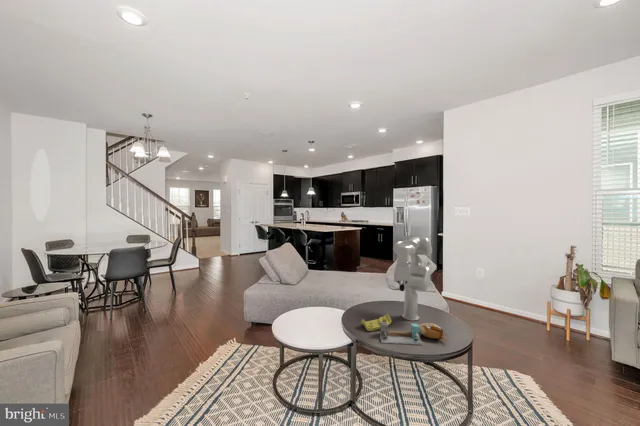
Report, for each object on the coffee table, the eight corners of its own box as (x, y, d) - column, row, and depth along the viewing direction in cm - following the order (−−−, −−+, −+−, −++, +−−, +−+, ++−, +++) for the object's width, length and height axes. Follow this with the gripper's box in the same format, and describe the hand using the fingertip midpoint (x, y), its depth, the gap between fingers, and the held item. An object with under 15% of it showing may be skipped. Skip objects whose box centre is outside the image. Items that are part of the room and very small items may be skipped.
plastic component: (368, 329, 180) (361, 317, 188) (366, 336, 183) (360, 324, 192) (393, 323, 186) (386, 312, 195) (391, 330, 190) (384, 319, 198)
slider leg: (410, 334, 177) (410, 323, 177) (416, 335, 177) (417, 323, 177) (415, 343, 166) (415, 331, 166) (422, 343, 166) (422, 331, 166)
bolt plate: (379, 337, 174) (379, 335, 174) (419, 339, 172) (419, 337, 172) (381, 342, 167) (381, 340, 167) (422, 345, 165) (422, 343, 165)
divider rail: (380, 333, 179) (380, 321, 179) (418, 335, 177) (419, 323, 177) (382, 341, 168) (383, 329, 167) (424, 344, 166) (424, 331, 165)
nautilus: (455, 344, 167) (437, 350, 161) (429, 328, 186) (412, 332, 180) (456, 332, 166) (438, 337, 160) (429, 317, 186) (412, 321, 180)
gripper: (412, 263, 187) (411, 289, 187) (390, 262, 188) (389, 288, 189) (415, 265, 179) (414, 292, 180) (392, 264, 181) (391, 291, 181)
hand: (401, 290), depth 184 cm, fingers closed
